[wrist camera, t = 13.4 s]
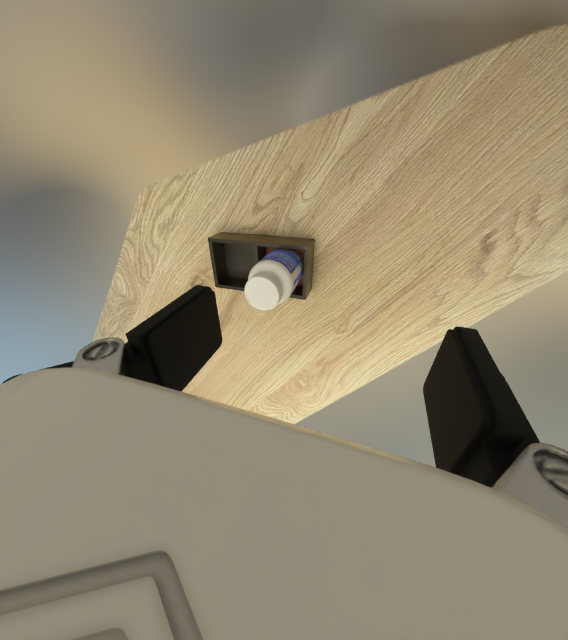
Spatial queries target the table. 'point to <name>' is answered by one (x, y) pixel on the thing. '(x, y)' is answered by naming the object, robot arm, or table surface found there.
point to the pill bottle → (274, 278)
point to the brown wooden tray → (255, 258)
